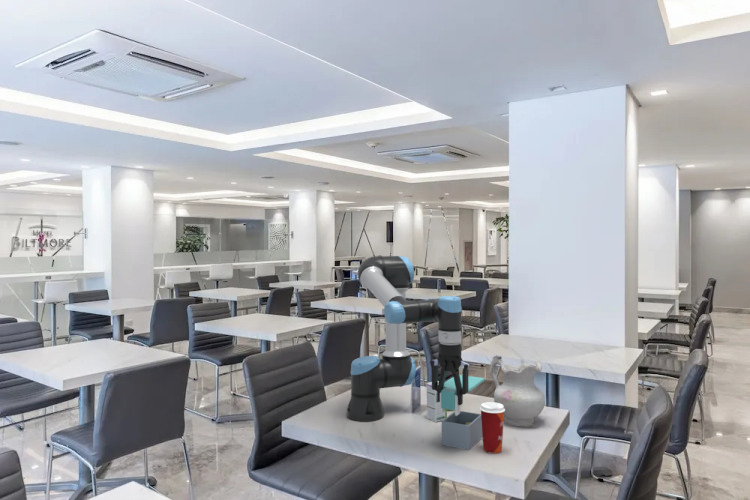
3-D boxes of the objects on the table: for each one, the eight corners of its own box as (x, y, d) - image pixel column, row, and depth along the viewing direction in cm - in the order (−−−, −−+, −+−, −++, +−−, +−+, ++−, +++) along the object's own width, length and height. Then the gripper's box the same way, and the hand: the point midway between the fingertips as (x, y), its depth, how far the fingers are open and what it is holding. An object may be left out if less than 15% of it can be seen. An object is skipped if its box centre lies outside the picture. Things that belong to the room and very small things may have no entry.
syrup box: (435, 422, 198) (435, 385, 198) (426, 418, 203) (426, 382, 203) (447, 419, 201) (446, 383, 201) (437, 415, 206) (437, 380, 206)
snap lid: (463, 411, 165) (463, 393, 165) (432, 406, 170) (432, 389, 170) (484, 394, 185) (484, 378, 185) (457, 390, 190) (457, 374, 190)
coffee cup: (508, 454, 167) (508, 408, 167) (484, 455, 166) (483, 409, 166) (500, 444, 175) (500, 400, 175) (476, 445, 175) (476, 401, 175)
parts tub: (469, 450, 170) (469, 426, 171) (441, 444, 175) (441, 421, 176) (482, 436, 183) (482, 414, 183) (456, 432, 188) (456, 410, 188)
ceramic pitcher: (482, 426, 197) (480, 363, 195) (495, 408, 214) (493, 350, 212) (540, 435, 187) (539, 369, 185) (548, 416, 204) (548, 355, 202)
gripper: (420, 342, 170) (420, 411, 170) (471, 347, 162) (471, 420, 162) (429, 338, 177) (430, 405, 177) (479, 343, 168) (479, 414, 168)
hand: (449, 412), depth 169 cm, fingers closed on snap lid, 5 cm apart
